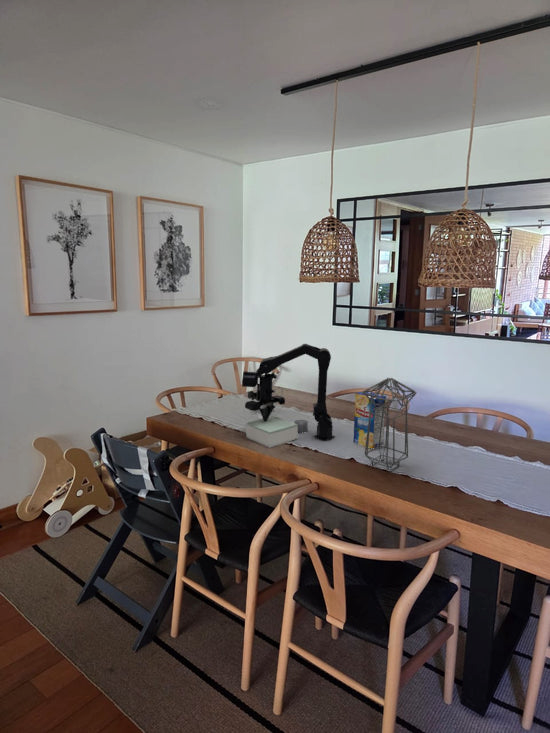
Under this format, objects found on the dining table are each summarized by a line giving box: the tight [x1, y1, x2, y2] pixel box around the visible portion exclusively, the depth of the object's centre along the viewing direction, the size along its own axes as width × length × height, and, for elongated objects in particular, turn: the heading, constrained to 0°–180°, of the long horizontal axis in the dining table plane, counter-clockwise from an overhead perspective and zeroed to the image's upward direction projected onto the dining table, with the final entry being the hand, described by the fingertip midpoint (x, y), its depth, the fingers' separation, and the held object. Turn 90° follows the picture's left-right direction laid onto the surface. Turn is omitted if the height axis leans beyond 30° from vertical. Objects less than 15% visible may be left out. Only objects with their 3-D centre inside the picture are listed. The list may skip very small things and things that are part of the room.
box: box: [245, 424, 299, 449], centre depth 212 cm, size 16×16×6 cm
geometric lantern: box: [361, 377, 417, 471], centre depth 180 cm, size 16×16×35 cm
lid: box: [245, 415, 298, 434], centre depth 211 cm, size 16×16×1 cm
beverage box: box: [352, 391, 387, 449], centre depth 204 cm, size 7×11×22 cm, turn 38°
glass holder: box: [255, 383, 284, 415], centre depth 249 cm, size 9×14×15 cm, turn 105°
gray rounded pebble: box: [294, 419, 309, 434], centre depth 222 cm, size 6×6×4 cm
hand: (265, 421), depth 215 cm, fingers closed, pressing on lid
